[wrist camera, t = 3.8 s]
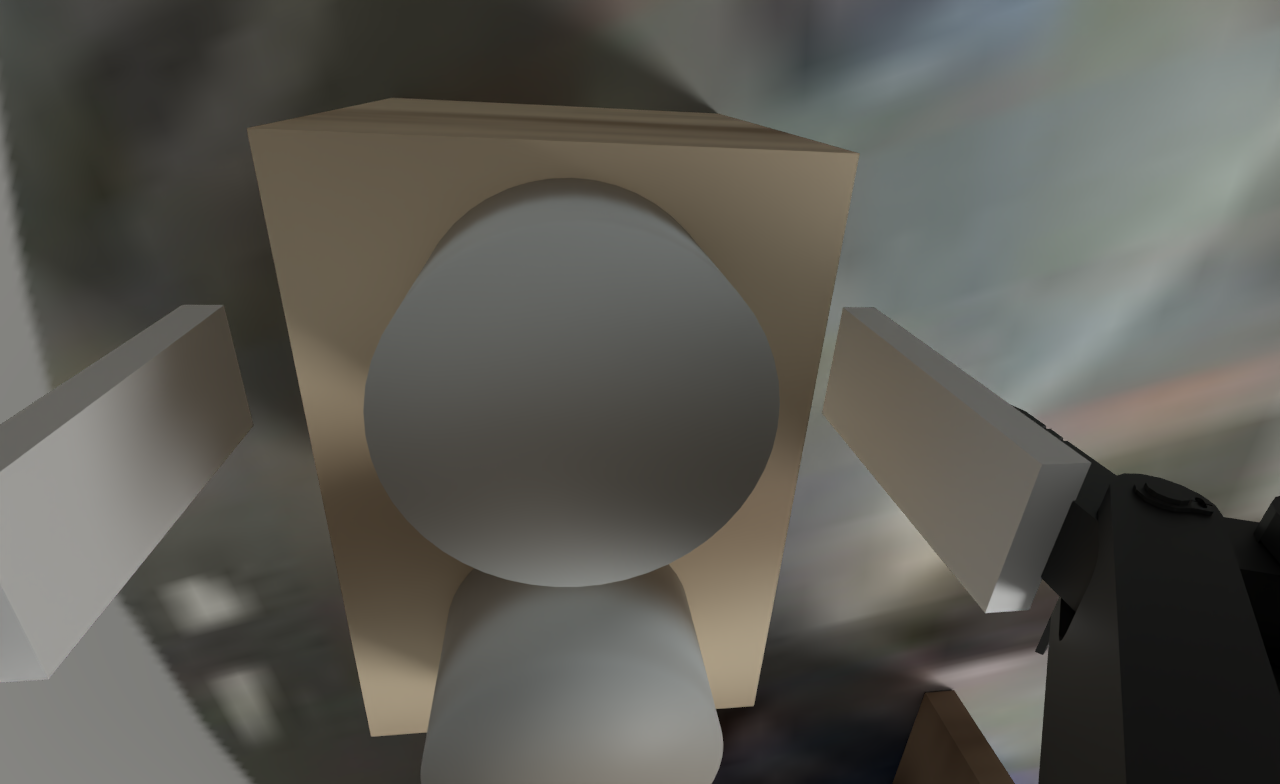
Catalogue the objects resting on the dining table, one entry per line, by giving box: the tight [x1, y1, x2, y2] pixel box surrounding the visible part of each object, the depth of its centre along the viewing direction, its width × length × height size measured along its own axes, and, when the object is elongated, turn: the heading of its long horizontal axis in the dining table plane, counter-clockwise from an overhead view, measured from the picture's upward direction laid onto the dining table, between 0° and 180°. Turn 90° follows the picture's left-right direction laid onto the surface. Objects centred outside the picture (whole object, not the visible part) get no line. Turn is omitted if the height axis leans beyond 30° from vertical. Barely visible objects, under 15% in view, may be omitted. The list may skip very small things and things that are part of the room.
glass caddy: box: [247, 98, 860, 784], centre depth 12 cm, size 10×7×10 cm
